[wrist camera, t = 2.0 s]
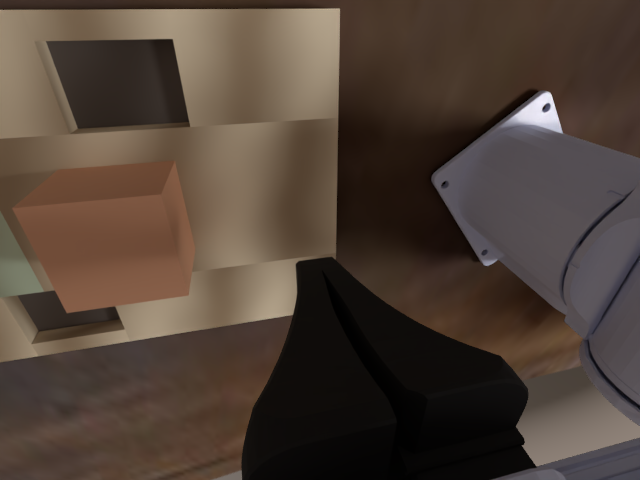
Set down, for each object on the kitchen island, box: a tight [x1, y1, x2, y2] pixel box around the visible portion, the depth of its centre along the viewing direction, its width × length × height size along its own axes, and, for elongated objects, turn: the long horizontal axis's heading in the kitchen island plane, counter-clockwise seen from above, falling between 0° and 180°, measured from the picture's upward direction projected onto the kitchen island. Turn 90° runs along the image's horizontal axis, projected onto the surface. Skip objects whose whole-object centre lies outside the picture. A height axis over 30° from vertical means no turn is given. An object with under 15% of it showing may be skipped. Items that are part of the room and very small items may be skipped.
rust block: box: [12, 161, 195, 313], centre depth 16 cm, size 5×5×4 cm
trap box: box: [0, 9, 340, 362], centre depth 17 cm, size 22×17×3 cm
